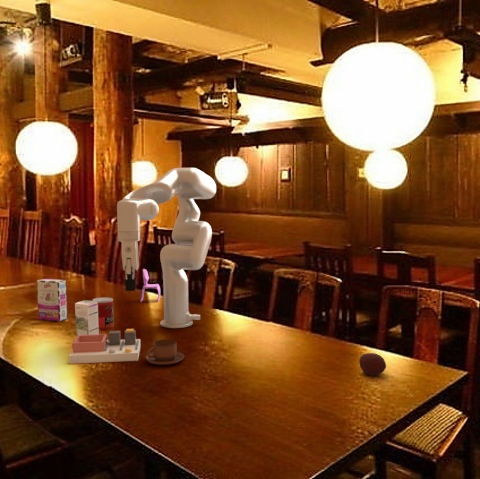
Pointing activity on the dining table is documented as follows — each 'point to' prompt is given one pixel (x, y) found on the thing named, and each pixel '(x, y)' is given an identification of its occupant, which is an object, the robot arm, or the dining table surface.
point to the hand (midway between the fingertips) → (130, 289)
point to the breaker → (114, 338)
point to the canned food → (105, 313)
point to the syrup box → (86, 318)
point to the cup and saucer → (164, 353)
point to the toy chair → (149, 285)
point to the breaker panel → (102, 350)
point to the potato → (372, 364)
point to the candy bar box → (52, 299)
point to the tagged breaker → (130, 336)
